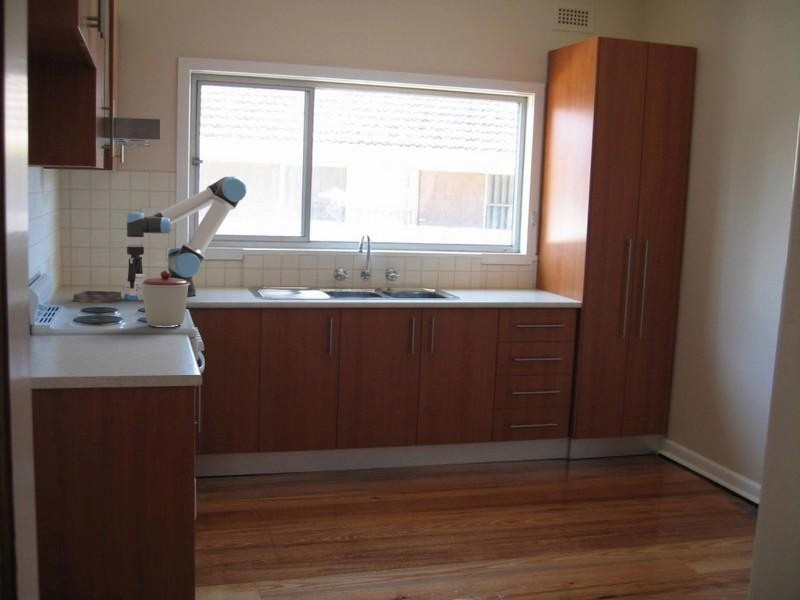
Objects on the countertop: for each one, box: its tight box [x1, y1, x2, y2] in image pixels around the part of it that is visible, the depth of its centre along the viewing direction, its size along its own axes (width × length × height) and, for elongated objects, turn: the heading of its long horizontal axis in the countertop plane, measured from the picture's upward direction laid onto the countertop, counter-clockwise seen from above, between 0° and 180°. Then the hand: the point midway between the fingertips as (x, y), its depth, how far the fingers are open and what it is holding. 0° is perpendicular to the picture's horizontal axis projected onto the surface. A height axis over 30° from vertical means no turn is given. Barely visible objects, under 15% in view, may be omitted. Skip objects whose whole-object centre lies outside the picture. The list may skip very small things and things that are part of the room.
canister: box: [140, 270, 190, 326], centre depth 315 cm, size 18×18×21 cm
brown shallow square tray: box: [72, 290, 123, 304], centre depth 382 cm, size 17×17×3 cm
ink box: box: [124, 273, 147, 302], centre depth 386 cm, size 9×5×12 cm, turn 143°
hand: (135, 294), depth 387 cm, fingers closed on ink box, 9 cm apart
